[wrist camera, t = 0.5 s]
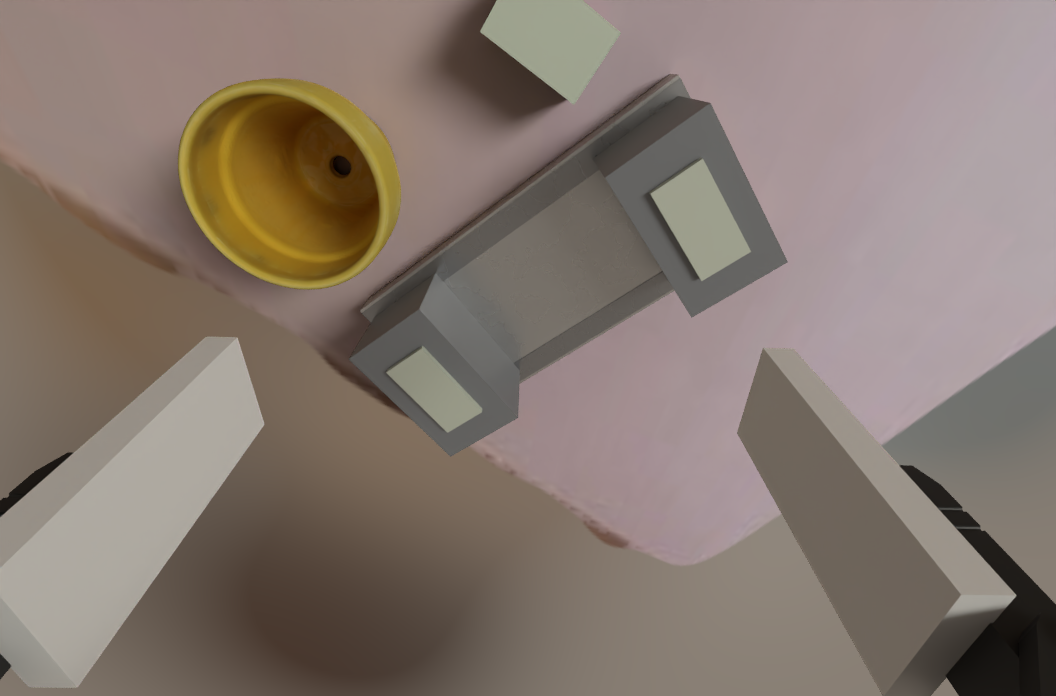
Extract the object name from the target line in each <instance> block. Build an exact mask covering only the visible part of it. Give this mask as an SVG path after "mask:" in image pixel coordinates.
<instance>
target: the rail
mask: <svg viewBox="0 0 1056 696" xmlns="http://www.w3.org/2000/svg"><path fill="white" fill-rule="evenodd" d="M678 96H681V97H686V98H690V96H689V94H688V92H687V90H686V88H685V86H684V84H683V82H682V80H681V78H680V77H679V75H677V74H669V75H668V76H667V77H665V78H664V79H663V80H661V81H660V82H659V83H657V84H656V85H655V86H653V87H652V88H651V89H649V90H648V91H647V92H645V93H644V94H643V95H641V96H640V97H639V98H637V99H636V100H635V101H633V102H632V103H631V104H629V105H628V106H627V107H625V108H624V109H623V110H621V111H620V112H619V113H617V114H616V115H615V116H613V117H612V118H610V119H609V120H608V121H606V122H605V123H604V124H602V125H601V126H600V127H598V128H597V129H596V130H594V131H593V132H592V133H590V134H589V135H588V136H586V137H585V138H584V139H582V140H581V141H580V142H578V143H577V144H576V145H574V146H573V147H572V148H570V149H569V150H568V151H566V152H565V153H564V154H562V155H561V156H560V157H558V158H557V159H556V160H554V161H553V162H552V163H550V164H549V165H547V166H546V167H545V168H543V169H542V170H541V171H539V172H538V173H537V174H535V175H534V176H533V177H531V178H530V179H529V180H527V181H526V182H525V183H523V184H522V185H521V186H519V187H518V188H517V189H515V190H514V191H513V192H511V193H510V194H509V195H507V196H506V197H505V198H503V199H502V200H501V201H499V202H498V203H497V204H495V205H494V206H493V207H491V208H490V209H489V210H487V211H486V212H485V213H483V214H482V215H480V216H479V217H478V218H476V219H475V220H474V221H472V222H471V223H470V224H468V225H467V226H466V227H464V228H463V229H462V230H460V231H459V232H458V233H456V234H455V235H454V236H452V237H451V238H450V239H448V240H447V241H446V242H444V243H443V244H442V245H440V246H439V247H438V248H436V249H435V250H434V251H432V252H431V253H430V254H428V255H427V256H426V257H424V258H423V259H422V260H420V261H419V262H418V263H416V264H415V265H413V266H412V267H411V268H409V269H408V270H407V271H405V272H404V273H403V274H401V275H400V276H399V277H397V278H396V279H395V280H393V281H392V282H391V283H389V284H388V285H387V286H385V287H384V288H383V289H381V290H380V291H379V292H377V293H376V294H375V295H373V296H372V297H371V298H369V299H368V300H367V301H366V303H365V304H364V306H363V307H362V309H361V310H360V312H361V313H362V314H363V315H364V316H365V317H366V318H367V319H368V320H369V321H370V322H372V320H373V319H374V317H376V316H377V315H379V314H380V313H381V312H383V311H384V310H385V309H387V308H388V307H390V306H391V305H392V304H394V303H395V302H396V301H398V300H399V299H401V298H402V297H403V296H405V295H406V294H407V293H409V292H410V291H412V290H413V289H414V288H416V287H417V286H418V285H420V284H421V283H423V282H424V281H425V280H427V279H428V278H429V277H431V276H432V275H434V274H435V273H436V274H437V275H438V276H439V278H440V279H441V280H442V281H443V282H444V283H445V284H446V285H447V286H448V287H449V289H450V290H451V291H452V292H453V293H454V294H455V296H456V297H457V298H458V299H459V300H460V301H461V303H462V304H463V305H464V306H465V307H466V308H467V310H468V311H469V312H470V313H471V314H472V315H473V317H474V318H475V319H476V320H477V321H478V322H479V324H480V325H481V326H482V327H483V328H484V329H485V330H486V332H487V333H488V334H489V335H490V336H491V337H492V339H493V340H494V341H495V342H496V343H497V344H498V346H499V347H500V348H501V349H502V350H503V351H504V353H505V354H506V355H507V356H508V357H509V358H510V360H511V361H512V362H513V363H514V365H515V366H516V367H517V368H518V369H519V370H520V379H519V384H520V383H522V382H523V381H525V380H526V379H528V378H530V377H531V376H533V375H535V374H536V373H538V372H540V371H541V370H543V369H545V368H546V367H548V366H550V365H551V364H553V363H555V362H556V361H558V360H560V359H561V358H563V357H565V356H566V355H568V354H570V353H571V352H573V351H575V350H576V349H578V348H580V347H581V346H583V345H585V344H586V343H588V342H590V341H591V340H593V339H595V338H596V337H598V336H600V335H601V334H603V333H605V332H606V331H608V330H610V329H611V328H613V327H615V326H616V325H618V324H620V323H621V322H623V321H625V320H626V319H628V318H630V317H631V316H633V315H635V314H636V313H638V312H640V311H641V310H643V309H645V308H646V307H648V306H650V305H651V304H653V303H655V302H656V301H658V300H660V299H661V298H663V297H665V296H666V295H668V294H670V293H671V292H673V291H675V290H674V289H673V287H672V285H671V284H670V282H669V281H668V279H667V277H666V276H665V274H664V273H663V271H662V269H661V268H660V266H659V265H658V263H657V261H656V260H655V258H654V257H653V255H652V253H651V252H650V250H649V249H648V247H647V245H646V244H645V242H644V241H643V239H642V237H641V236H640V234H639V232H638V231H637V229H636V228H635V226H634V224H633V223H632V221H631V220H630V218H629V216H628V215H627V213H626V212H625V210H624V208H623V207H622V205H621V204H620V202H619V200H618V199H617V197H616V195H615V194H614V192H613V191H612V189H611V187H610V186H609V184H608V183H607V181H606V179H605V178H604V176H603V175H602V173H601V171H600V170H599V168H598V167H597V165H596V163H595V162H594V160H593V158H594V157H596V156H597V155H599V154H600V153H601V152H603V151H604V150H605V149H607V148H608V147H610V146H611V145H612V144H614V143H615V142H616V141H618V140H619V139H621V138H622V137H623V136H625V135H626V134H627V133H629V132H630V131H632V130H633V129H634V128H636V127H637V126H638V125H640V124H641V123H643V122H644V121H645V120H647V119H648V118H649V117H651V116H652V115H654V114H655V113H656V112H658V111H659V110H660V109H662V108H663V107H665V106H666V105H667V104H669V103H670V102H671V101H673V100H674V99H676V98H677V97H678ZM690 99H691V98H690Z"/></svg>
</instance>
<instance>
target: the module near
mask: <svg viewBox="0 0 1056 696" xmlns="http://www.w3.org/2000/svg"><path fill="white" fill-rule="evenodd" d="M593 160H594V162H595V163H596V165H597V167H598V168H599V170H600V171H601V173H602V175H603V176H604V178H605V179H606V181H607V183H608V184H609V186H610V187H611V189H612V191H613V192H614V194H615V195H616V197H617V199H618V200H619V202H620V204H621V205H622V207H623V208H624V210H625V212H626V213H627V215H628V216H629V218H630V220H631V221H632V223H633V224H634V226H635V228H636V229H637V231H638V232H639V234H640V236H641V237H642V239H643V241H644V242H645V244H646V245H647V247H648V249H649V250H650V252H651V253H652V255H653V257H654V258H655V260H656V261H657V263H658V265H659V266H660V268H661V269H662V271H663V273H664V274H665V276H666V277H667V279H668V281H669V282H670V284H671V285H672V287H673V289H674V290H675V292H676V293H677V295H678V297H679V298H680V300H681V301H682V303H683V305H684V306H685V308H686V309H687V311H688V312H689V314H690V316H691V317H693V316H695V315H697V314H699V313H700V312H702V311H704V310H706V309H707V308H709V307H711V306H712V305H714V304H716V303H718V302H719V301H721V300H723V299H725V298H726V297H728V296H730V295H732V294H733V293H735V292H737V291H738V290H740V289H742V288H744V287H745V286H747V285H749V284H751V283H752V282H754V281H756V280H758V279H759V278H761V277H763V276H765V275H766V274H768V273H770V272H771V271H773V270H775V269H777V268H778V267H780V266H782V265H784V264H785V263H787V260H786V258H785V255H784V253H783V251H782V249H781V247H780V245H779V243H778V241H777V239H776V237H775V235H774V233H773V231H772V229H771V227H770V225H769V223H768V221H767V218H766V216H765V214H764V212H763V210H762V208H761V206H760V204H759V202H758V200H757V198H756V196H755V194H754V192H753V190H752V188H751V186H750V183H749V181H748V179H747V177H746V175H745V173H744V171H743V169H742V167H741V165H740V163H739V161H738V159H737V157H736V155H735V153H734V151H733V149H732V146H731V144H730V142H729V140H728V138H727V136H726V134H725V132H724V130H723V128H722V126H721V124H720V122H719V120H718V118H717V116H716V114H715V112H714V109H713V107H712V105H711V103H708V102H704V101H699V100H695V99H690V98H686V97H681V96H678V97H677V98H676V99H674V100H673V101H671V102H670V103H669V104H667V105H666V106H665V107H663V108H662V109H660V110H659V111H658V112H656V113H655V114H654V115H652V116H651V117H649V118H648V119H647V120H645V121H644V122H643V123H641V124H640V125H638V126H637V127H636V128H634V129H633V130H632V131H630V132H629V133H627V134H626V135H625V136H623V137H622V138H621V139H619V140H618V141H616V142H615V143H614V144H612V145H611V146H610V147H608V148H607V149H605V150H604V151H603V152H601V153H600V154H599V155H597V156H596V157H594V158H593Z"/></svg>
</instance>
